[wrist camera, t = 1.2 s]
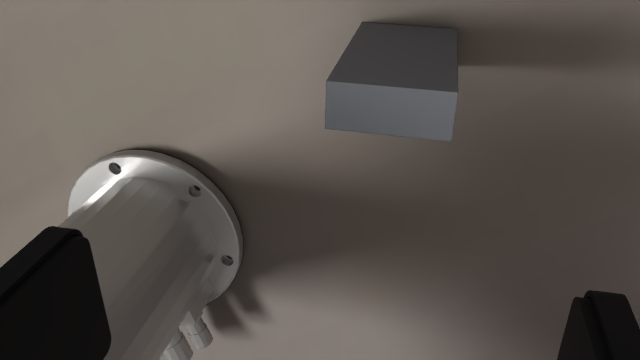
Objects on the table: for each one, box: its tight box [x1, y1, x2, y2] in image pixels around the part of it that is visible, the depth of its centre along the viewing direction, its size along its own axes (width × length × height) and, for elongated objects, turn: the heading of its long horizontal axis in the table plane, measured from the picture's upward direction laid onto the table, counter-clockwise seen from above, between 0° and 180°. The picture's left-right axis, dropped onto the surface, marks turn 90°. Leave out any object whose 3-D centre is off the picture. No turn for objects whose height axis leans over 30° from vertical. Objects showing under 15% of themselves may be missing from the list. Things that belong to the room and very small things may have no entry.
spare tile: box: [325, 22, 458, 142], centre depth 26 cm, size 2×5×10 cm, turn 89°
